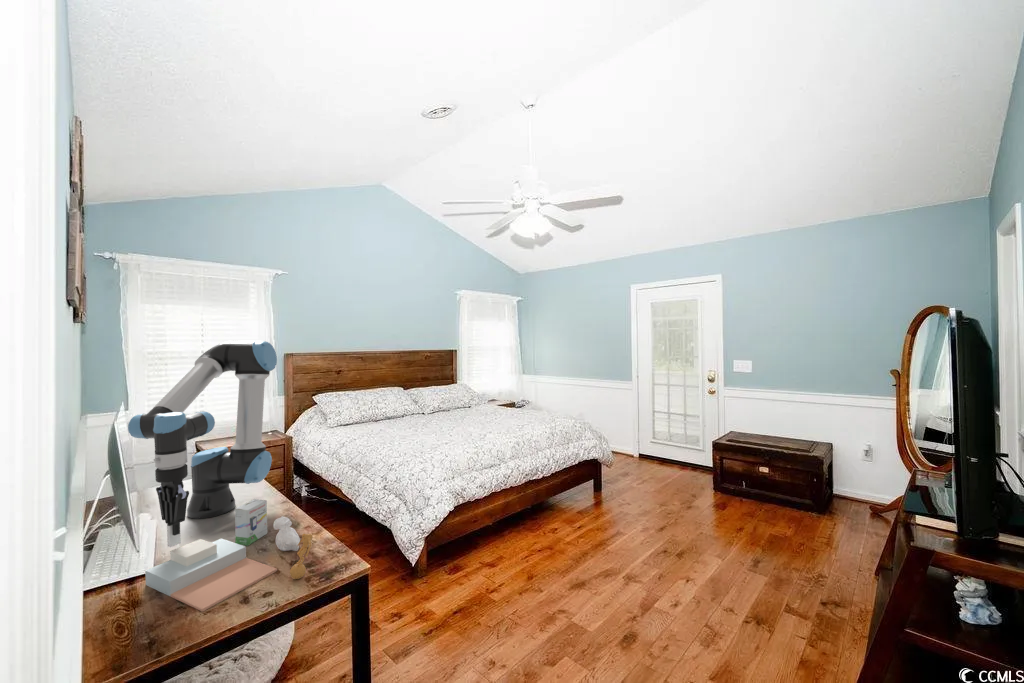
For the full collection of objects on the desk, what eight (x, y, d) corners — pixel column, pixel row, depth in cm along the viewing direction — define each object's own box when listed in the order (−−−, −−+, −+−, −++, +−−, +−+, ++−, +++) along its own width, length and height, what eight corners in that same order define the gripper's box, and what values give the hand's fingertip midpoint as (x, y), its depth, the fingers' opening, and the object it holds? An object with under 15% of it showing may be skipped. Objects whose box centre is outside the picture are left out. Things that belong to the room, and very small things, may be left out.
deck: (221, 551, 138) (221, 538, 138) (246, 559, 133) (245, 546, 132) (145, 584, 120) (145, 570, 120) (170, 596, 115) (170, 581, 115)
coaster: (200, 547, 132) (200, 538, 132) (216, 552, 129) (216, 544, 129) (170, 559, 125) (170, 551, 125) (186, 566, 122) (186, 557, 122)
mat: (246, 559, 133) (246, 557, 133) (277, 570, 126) (277, 568, 126) (170, 596, 115) (170, 594, 115) (202, 611, 108) (202, 609, 108)
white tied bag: (282, 547, 144) (258, 527, 139) (302, 528, 148) (278, 507, 143) (291, 563, 135) (265, 541, 130) (312, 541, 138) (287, 519, 134)
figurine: (286, 574, 125) (285, 532, 124) (308, 566, 128) (307, 526, 128) (294, 587, 118) (293, 543, 118) (317, 579, 122) (316, 536, 122)
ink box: (255, 532, 150) (254, 498, 150) (268, 533, 149) (267, 499, 149) (234, 544, 142) (233, 508, 141) (248, 546, 141) (247, 509, 140)
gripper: (144, 466, 130) (147, 545, 131) (169, 472, 124) (172, 555, 125) (173, 459, 137) (176, 534, 138) (198, 465, 131) (200, 543, 132)
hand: (174, 544), depth 131 cm, fingers closed
